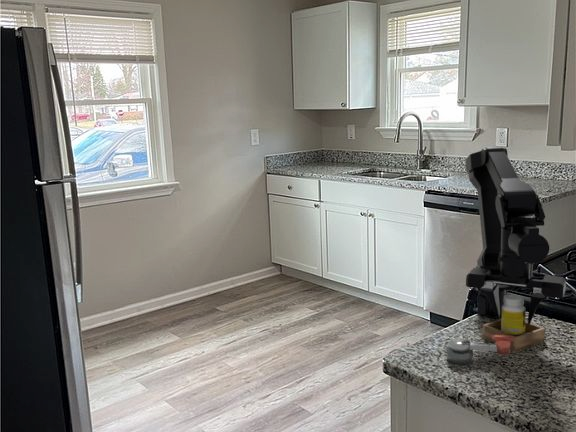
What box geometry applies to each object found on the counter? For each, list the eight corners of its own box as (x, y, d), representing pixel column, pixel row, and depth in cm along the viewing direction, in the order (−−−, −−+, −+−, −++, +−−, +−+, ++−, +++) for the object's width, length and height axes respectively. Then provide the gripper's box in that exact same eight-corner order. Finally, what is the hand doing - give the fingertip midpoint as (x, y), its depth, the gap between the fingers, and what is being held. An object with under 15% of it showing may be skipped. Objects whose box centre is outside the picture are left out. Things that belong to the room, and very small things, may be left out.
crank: (449, 352, 110) (449, 337, 110) (449, 343, 114) (449, 329, 114) (514, 357, 107) (515, 341, 107) (512, 348, 111) (513, 332, 110)
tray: (510, 328, 125) (510, 315, 125) (544, 341, 118) (545, 328, 117) (482, 337, 121) (482, 324, 121) (516, 352, 114) (516, 338, 113)
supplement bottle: (527, 340, 117) (528, 300, 115) (503, 339, 118) (503, 300, 116) (522, 332, 121) (523, 294, 120) (499, 331, 122) (500, 293, 121)
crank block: (459, 351, 116) (459, 342, 115) (478, 360, 111) (478, 351, 111) (441, 357, 113) (441, 348, 113) (459, 367, 109) (460, 357, 109)
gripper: (570, 243, 117) (566, 314, 121) (478, 236, 127) (476, 302, 130) (564, 257, 108) (560, 333, 111) (465, 249, 118) (464, 319, 121)
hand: (513, 320), depth 119 cm, fingers open, 6 cm apart
